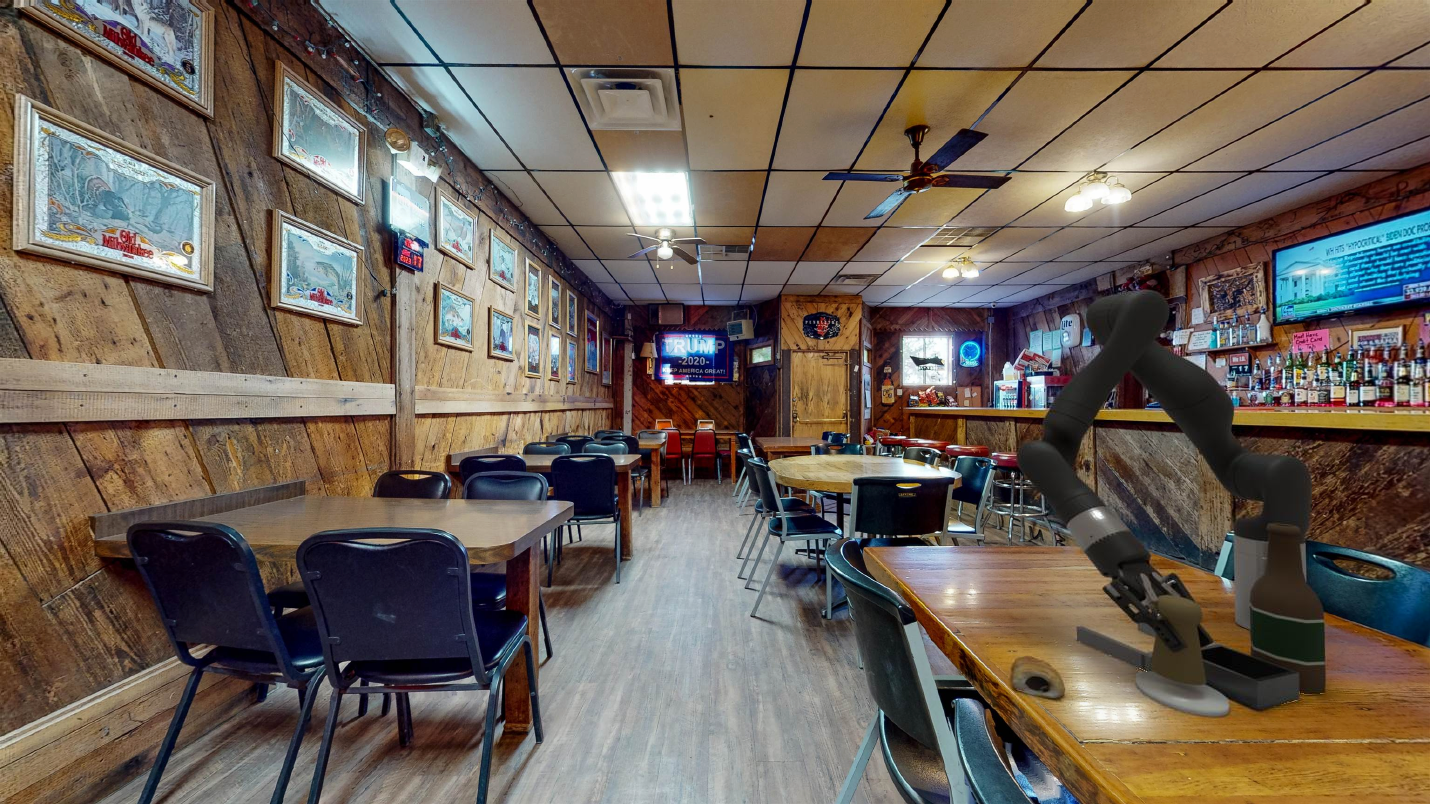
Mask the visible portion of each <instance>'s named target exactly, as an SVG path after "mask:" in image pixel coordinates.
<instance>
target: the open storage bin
mask: <svg viewBox="0 0 1430 804" xmlns="http://www.w3.org/2000/svg"><path fill="white" fill-rule="evenodd" d="M1201 653H1202V659H1203V665H1204V671H1205V676H1206V682H1207V683H1205V685H1207V686H1209V687H1211V688H1213V689H1215V690H1217V691H1218V692H1220V693H1221V694H1223V695H1224V696H1225V697H1226V698H1227V699H1228V700H1230V701H1232V702H1235V703H1238V704H1240V705H1241V706H1244V707H1246V708H1248V709H1251V710H1253V711H1256V712H1262V711H1265V710H1269V709H1272V707H1273V708H1275V707H1274V706H1277V707H1279V706H1278V705H1281V704H1284V703H1287V702H1292V701H1294V700H1298V699H1300V698H1301V697H1300V695H1301V694H1299V672H1296V671H1293V670H1290V669H1288V668H1285V667H1282V666H1279V665H1276V664H1274V663H1271V662H1268V661H1265V660H1262V659H1260V658H1257V657H1254V656H1251V654H1248V653H1246V652H1242V651H1239V650H1237V649H1233V648H1232V647H1229V646H1225V645H1224V644H1220V643H1218V644H1217V645H1212V646H1206V647H1201ZM1281 706H1282V705H1281Z"/></svg>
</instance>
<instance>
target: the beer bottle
mask: <svg viewBox="0 0 1430 804" xmlns="http://www.w3.org/2000/svg"><path fill="white" fill-rule="evenodd" d="M1266 530H1267V531H1268V532H1269V538H1268V553H1267V565H1266V569H1265V573H1264V575H1262V576H1261V577H1260V578H1259V579H1258V580H1257V581H1256V582H1255V583H1254V585H1253V587H1252V589H1251V592H1250V630H1249V632H1250V633H1249V637H1250V642H1249V643H1250V655H1251V656H1254V657H1257V658H1260V659H1262V660H1265V661H1268V662H1271V663H1274V664H1276V665H1279V666H1282V667H1285V668H1288V669H1290V670H1293V671H1296V672H1299V692H1300V693H1304V694H1320V693H1324V694H1325V693H1326V682H1327V677H1326V672H1327V671H1326V670H1327V669H1326V636H1325V635H1326V633H1325V631H1326V629H1325V627H1326V625H1325V614H1324V608H1323V607H1324V606H1323V605H1322V602H1321V600H1320V599H1319V596H1318V594H1316V592H1315V591H1314V590H1313V589H1312V587H1311V586H1310V585H1309V584H1308V583H1307V579H1306V580H1305V577H1304V573H1303V567H1302V558H1301V549H1300V540H1299V536H1300V535H1302V532H1301V530H1300V528H1298V527H1297V526H1294V525H1288V524H1279V523H1271V524H1268V525H1267V528H1266Z"/></svg>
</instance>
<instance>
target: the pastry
mask: <svg viewBox="0 0 1430 804" xmlns="http://www.w3.org/2000/svg"><path fill="white" fill-rule="evenodd" d="M1010 672H1011V677H1012V681H1011V683H1012V685H1013V687H1014V689H1015V688H1016V689H1018V690H1021V691H1023V692H1024V693H1023V692H1022V693H1023V694H1025V693H1027V694H1026V695H1029V694H1031V696H1035V695H1039V696H1038V697H1043V696H1044V698H1048V699H1059V698H1061V697H1062V696H1063V695H1064V693H1065V691H1066V687H1065V684H1064V681H1063V679H1062V677H1061V676H1062V675H1060V673H1059V672H1058V671H1057V669H1056V668H1055V667H1052V665H1051V664H1050V663H1048V662H1046V661H1045V660H1043V659H1039V658H1035V657H1033V656H1032V655H1025V656H1021V657H1020V656H1019V657H1017V658H1015V660H1014V662H1013V663H1012V665H1011V667H1010ZM1016 689H1015V690H1016ZM1018 690H1017V691H1018ZM1058 697H1059V698H1058Z"/></svg>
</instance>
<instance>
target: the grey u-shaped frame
mask: <svg viewBox="0 0 1430 804" xmlns="http://www.w3.org/2000/svg"><path fill="white" fill-rule="evenodd" d="M1138 630H1139V631H1138ZM1137 631H1138V632H1140V631H1141V632H1140V633H1143V632H1144V633H1143V634H1145V633H1146V635H1147V636H1151V635H1152V636H1151V637H1153V636H1154V638H1155V637H1156V633H1155V631H1154V630H1153V629H1152V628H1151V627H1149V626H1147V625H1146V624H1145V623H1139V624H1137ZM1076 641H1077V642H1079V641H1080V642H1079V643H1081V642H1082V643H1081V644H1083V643H1084V645H1085V644H1086V646H1089V647H1090V648H1091V649H1094V648H1095V650H1097V651H1099V650H1100V652H1101V651H1102V652H1101V653H1103V652H1104V653H1103V654H1105V653H1106V655H1108V656H1110V655H1111V656H1110V657H1112V658H1114V659H1117V660H1119V661H1120V662H1123V663H1125V662H1126V663H1125V664H1128V665H1130V666H1133V667H1134V666H1135V668H1136V669H1139V668H1141V669H1143V670H1145V671H1144V672H1146V671H1153V670H1152V669H1151V667H1150V665H1151V659H1152V654H1153V651H1150V652H1145V651H1143V650H1140V649H1139V648H1136V647H1133V646H1131V645H1129V644H1126V643H1124V642H1122V641H1119V640H1116V639H1114V638H1111V636H1107V635H1105V634H1102V633H1100V632H1097V631H1095V630H1094V629H1090V628H1088V627H1086V626H1082V625H1080V626H1076ZM1217 644H1219V642H1215V641H1213V643H1212V644H1210V645H1208V646H1212V645H1217ZM1205 647H1206V646H1205ZM1141 669H1140V670H1141ZM1143 670H1142V671H1143Z"/></svg>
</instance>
